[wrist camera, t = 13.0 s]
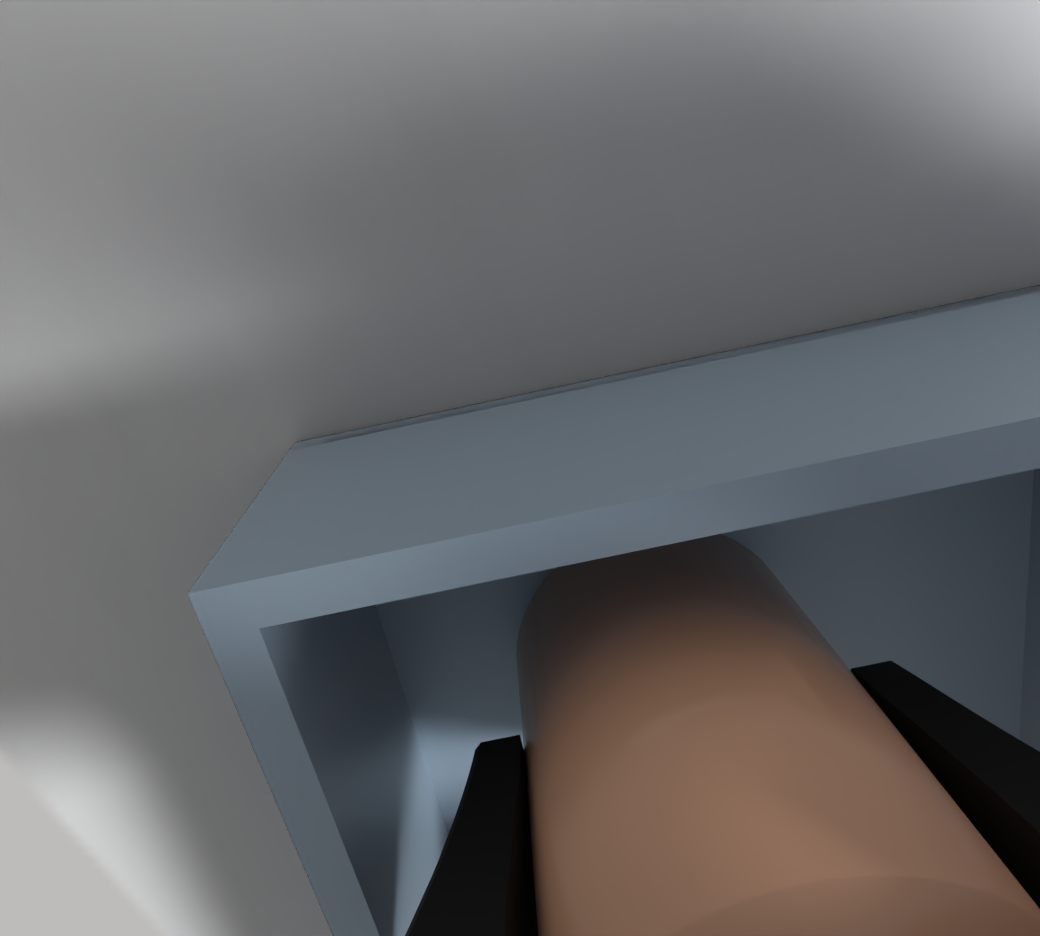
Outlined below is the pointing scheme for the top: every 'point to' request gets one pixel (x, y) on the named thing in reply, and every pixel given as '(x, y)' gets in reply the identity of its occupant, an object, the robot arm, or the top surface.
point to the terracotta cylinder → (728, 768)
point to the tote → (613, 531)
